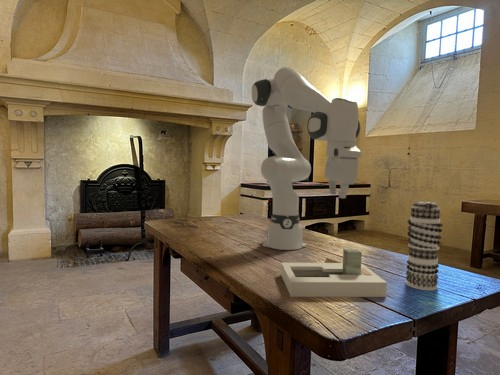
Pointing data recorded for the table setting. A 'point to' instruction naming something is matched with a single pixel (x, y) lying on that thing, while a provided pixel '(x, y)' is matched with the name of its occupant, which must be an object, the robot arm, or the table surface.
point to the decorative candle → (423, 246)
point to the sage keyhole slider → (351, 262)
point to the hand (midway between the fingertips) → (337, 196)
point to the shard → (330, 261)
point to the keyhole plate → (330, 281)
